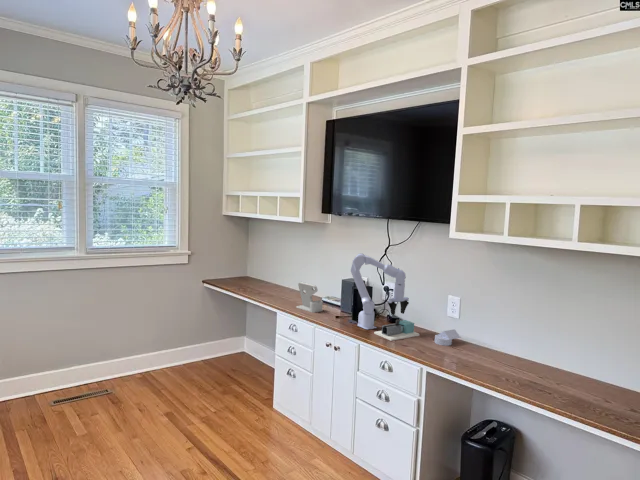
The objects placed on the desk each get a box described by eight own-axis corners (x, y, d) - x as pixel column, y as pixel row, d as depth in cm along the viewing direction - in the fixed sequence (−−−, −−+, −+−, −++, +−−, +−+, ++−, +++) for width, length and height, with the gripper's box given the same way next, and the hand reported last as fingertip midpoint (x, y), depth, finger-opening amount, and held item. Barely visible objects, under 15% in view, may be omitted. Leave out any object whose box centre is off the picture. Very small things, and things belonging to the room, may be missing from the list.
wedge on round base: (447, 338, 251) (430, 341, 244) (448, 327, 250) (431, 329, 244) (460, 343, 243) (443, 346, 237) (461, 331, 243) (444, 334, 236)
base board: (374, 333, 253) (374, 331, 253) (401, 328, 265) (402, 327, 265) (391, 340, 241) (391, 338, 241) (419, 335, 254) (419, 333, 254)
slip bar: (393, 330, 253) (393, 319, 253) (405, 328, 259) (406, 317, 258) (396, 332, 251) (397, 320, 250) (409, 330, 257) (410, 319, 256)
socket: (397, 330, 258) (397, 321, 257) (404, 329, 261) (405, 319, 261) (405, 333, 252) (406, 324, 252) (413, 332, 256) (414, 323, 255)
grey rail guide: (381, 333, 250) (382, 325, 249) (394, 331, 255) (395, 323, 255) (387, 336, 246) (388, 327, 245) (400, 333, 251) (401, 325, 251)
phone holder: (324, 310, 297) (325, 284, 296) (313, 313, 290) (315, 285, 288) (305, 305, 309) (307, 279, 308) (295, 307, 302) (296, 281, 300)
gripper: (395, 293, 252) (393, 316, 253) (413, 291, 260) (411, 314, 261) (386, 290, 257) (384, 313, 259) (404, 289, 266) (402, 311, 267)
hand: (397, 313), depth 260 cm, fingers open, 7 cm apart
